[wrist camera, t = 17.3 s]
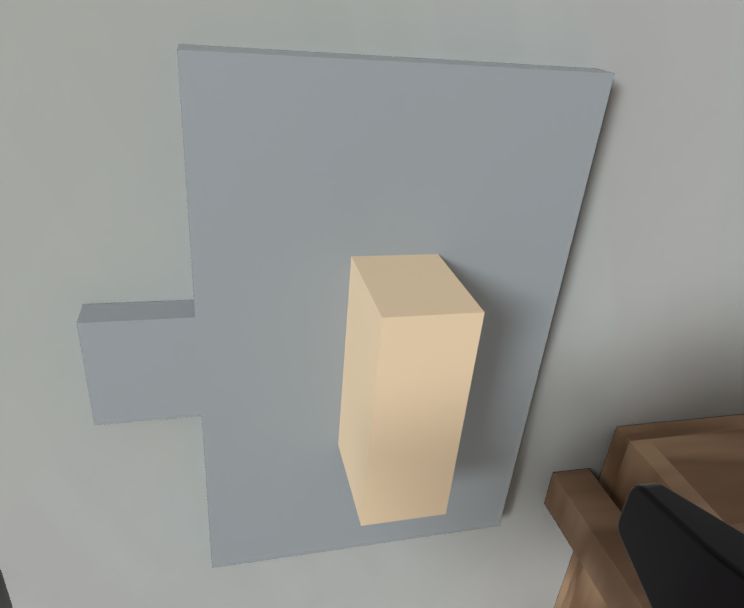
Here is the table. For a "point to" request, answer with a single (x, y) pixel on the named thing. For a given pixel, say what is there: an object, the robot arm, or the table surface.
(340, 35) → the table surface
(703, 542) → the robot arm
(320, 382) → the lid
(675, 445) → the brown wooden box
